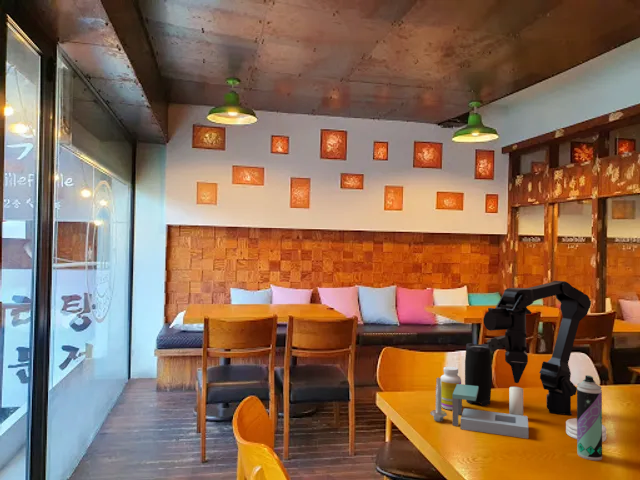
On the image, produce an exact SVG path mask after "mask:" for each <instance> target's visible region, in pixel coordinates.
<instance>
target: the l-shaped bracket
mask: <svg viewBox="0 0 640 480" xmlns="http://www.w3.org/2000/svg"><path fill="white" fill-rule="evenodd" d="M477 394H478V386H472V385H465V384H462V383H461V384H457V385H456V387H455V390H454V392H453V410H452V426H454V427H458V426H459V416H462V413H463V400H465V401H466V400H472V401H476V398H477Z"/></svg>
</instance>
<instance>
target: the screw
mask: <svg viewBox="0 0 640 480" xmlns="http://www.w3.org/2000/svg"><path fill="white" fill-rule="evenodd" d="M441 389H442V388H441V377H439V376H438V377H437V378H436V384H435V409H434V410H431V411H430V413H429V414H430V415H431V416H433V420H434V421H435V422H439V423H440V422H443V421H444V417H447V415H448V414H447V412H445V411H444V410H442V408H443V407H442V406H441V405H442V404H441V403H442V402H441V401H442V400H441V399H442V398H441V397H442V396H441V395H442V394H441V393H442V392H441V391H442V390H441Z"/></svg>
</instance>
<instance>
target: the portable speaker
mask: <svg viewBox="0 0 640 480" xmlns="http://www.w3.org/2000/svg"><path fill="white" fill-rule="evenodd" d="M491 354H492V352H491V351H490V348H489V347H488V343H481V344H480V343H479V344H476V343H470V342H469V343H466V345H465V359H464V385H472V386H478V394H477V398H476V401H472V400H465V401H466V403H467V404H469V405H472V404H473V403H474V404H480V405H481V406H483V407H486V406H489V405H491V396H492V356H491Z"/></svg>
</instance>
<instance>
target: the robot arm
mask: <svg viewBox="0 0 640 480" xmlns="http://www.w3.org/2000/svg"><path fill="white" fill-rule="evenodd" d="M554 296H555V299H556V300H558V301H559V302H560V307H559V309H560V312H561V315H562V319H561V322H560V325H559V329H558V334H557V336H556V340H555V343H554V347H553V351H552V353H551V358H550V359H549V360H548V361H542V363H541V368H540V371H539V374H540V375H539V379H540V381H541V384H542V387H543V389H544V390H546V391H548V393H547V394H546V409H547V410H548V412H549V413H551V414H559V415H568V416H572V415H573V414H572V409H571V408H572V399H571V398H572V397H573V396H577V387H576V385H575V384H574V383H573V382H572V381H571V377H572V376H571V375H572V372H571V369H570V366H569V361H570V358H571V354H572V351H573V346H574V342H575V339H576V337H577V336H576V335H577V332H578V328H579V324H580V322H581V320H583V319H584V318H585V317H586V316H587V315H588V313H589V311H590V308H591V305H592V300H591V299H590V297H589V296H588V294H586V293H584V292H583V291H582V290H579V289H578V288H576V287H574V286H573V285H571V284H570V283H569V282H567V281H564V280H554V281H551V282H548V283H543V284H538V285H535V286H530V287H509V288H505V289H504V290H503V294H502V295H501V298H500V299H499V301H498V302H497V304H496V305H495V308H494V307H488V309H487V312H486V313H484V316H483V318H482V319H483V321H482V322H483V325H484V327H485V329H486V330H487V331H503V330H504V331H505V333H504V335H500V336H495V337H491V338H489V339H487V341H486V344H487V345H488V347H489V348H490V353H492V352H495V351H496V350H500V349H503V348H505V352H504V360H505V362H506V363H507V364H508V365H509V366H510V368H511V373H512V377H513V382H514V384H519V383H520V380H521V379H522V375H523V373H524V372H525V370H526V367H527V365H528V362H529V357H528V356H529V355H528V353H527V352H528V351H527V315H532V314H533V313H532V311H531V310H529V308H528V307H530V306H531V305H533V303H535V301H539V300H542V299H546V298H550V297H554Z"/></svg>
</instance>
